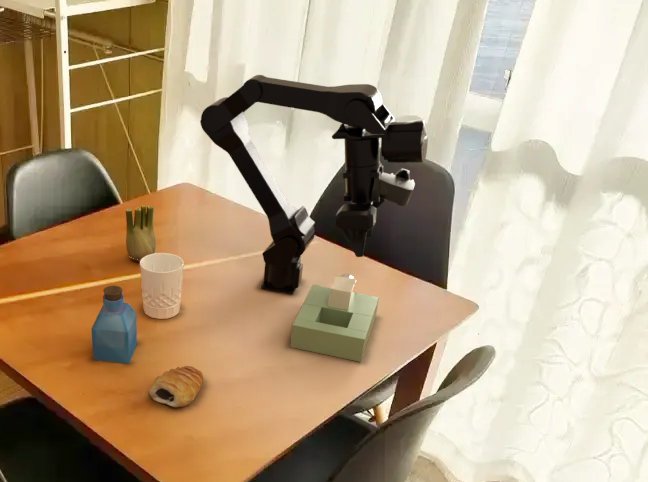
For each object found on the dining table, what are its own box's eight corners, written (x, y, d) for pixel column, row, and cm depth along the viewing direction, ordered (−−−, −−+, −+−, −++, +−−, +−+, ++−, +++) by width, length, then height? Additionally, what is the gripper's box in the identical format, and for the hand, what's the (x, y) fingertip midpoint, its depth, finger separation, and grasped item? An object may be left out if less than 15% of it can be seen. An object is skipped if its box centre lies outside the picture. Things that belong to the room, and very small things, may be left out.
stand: (290, 347, 128) (292, 324, 126) (310, 305, 140) (312, 284, 138) (360, 362, 124) (364, 339, 122) (375, 318, 136) (379, 296, 134)
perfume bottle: (128, 363, 124) (127, 301, 118) (93, 359, 126) (89, 297, 119) (136, 343, 130) (135, 283, 123) (102, 340, 131) (99, 279, 124)
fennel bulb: (125, 263, 156) (124, 210, 150) (130, 253, 160) (128, 200, 154) (153, 265, 155) (152, 211, 149) (156, 255, 159) (156, 202, 153)
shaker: (348, 310, 130) (351, 292, 128) (327, 306, 131) (330, 288, 129) (355, 292, 135) (358, 275, 133) (335, 289, 136) (337, 271, 135)
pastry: (178, 370, 123) (178, 351, 121) (213, 384, 119) (215, 364, 117) (145, 399, 116) (145, 379, 114) (182, 414, 113) (182, 394, 111)
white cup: (189, 304, 141) (190, 257, 136) (172, 324, 135) (173, 275, 130) (151, 296, 144) (150, 249, 139) (133, 315, 138) (132, 267, 133)
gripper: (404, 178, 118) (404, 269, 125) (417, 145, 132) (416, 227, 140) (333, 180, 122) (336, 267, 129) (353, 147, 137) (355, 227, 144)
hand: (363, 246), depth 136 cm, fingers open, 9 cm apart
